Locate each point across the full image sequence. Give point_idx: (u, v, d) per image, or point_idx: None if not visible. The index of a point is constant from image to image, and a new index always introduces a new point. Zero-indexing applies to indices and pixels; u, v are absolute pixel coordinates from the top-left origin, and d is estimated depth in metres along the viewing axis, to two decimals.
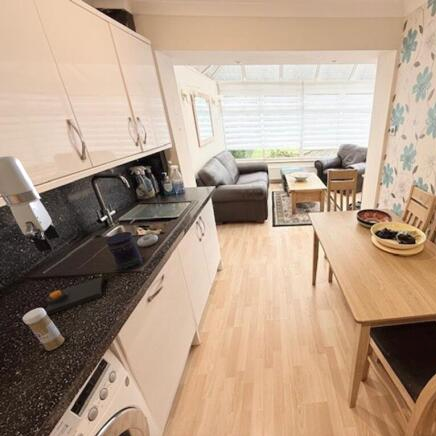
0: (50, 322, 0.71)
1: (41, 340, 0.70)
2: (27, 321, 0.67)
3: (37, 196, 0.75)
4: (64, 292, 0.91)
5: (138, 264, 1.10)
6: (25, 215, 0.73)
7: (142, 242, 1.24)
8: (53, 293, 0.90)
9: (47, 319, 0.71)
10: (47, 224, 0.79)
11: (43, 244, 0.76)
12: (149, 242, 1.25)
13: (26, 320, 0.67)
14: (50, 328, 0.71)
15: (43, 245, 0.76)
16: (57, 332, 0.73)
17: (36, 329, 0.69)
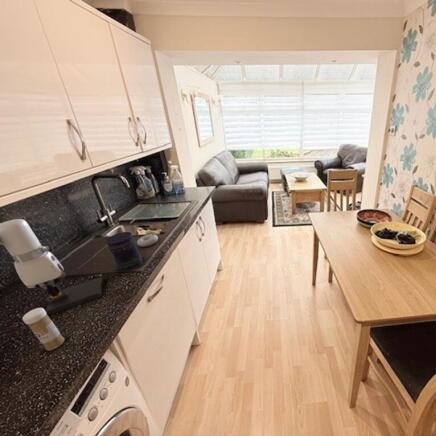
0: (50, 322, 0.71)
1: (41, 340, 0.70)
2: (27, 321, 0.67)
3: (23, 260, 0.79)
4: (64, 292, 0.91)
5: (138, 264, 1.10)
6: None
7: (142, 242, 1.24)
8: None
9: (47, 319, 0.71)
10: (41, 280, 0.85)
11: None
12: (149, 242, 1.25)
13: (26, 320, 0.67)
14: (50, 328, 0.71)
15: None
16: (57, 332, 0.73)
17: (36, 329, 0.69)
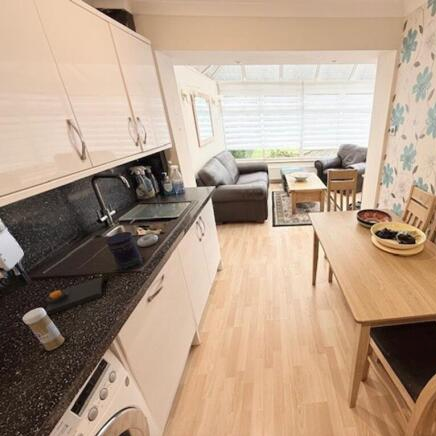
0: (50, 322, 0.71)
1: (41, 340, 0.70)
2: (27, 321, 0.67)
3: (2, 228, 0.63)
4: (64, 292, 0.91)
5: (138, 264, 1.10)
6: None
7: (142, 242, 1.24)
8: (53, 293, 0.90)
9: (47, 319, 0.71)
10: (15, 260, 0.67)
11: (18, 280, 0.68)
12: (149, 242, 1.25)
13: (26, 320, 0.67)
14: (50, 328, 0.71)
15: (18, 281, 0.68)
16: (57, 332, 0.73)
17: (36, 329, 0.69)
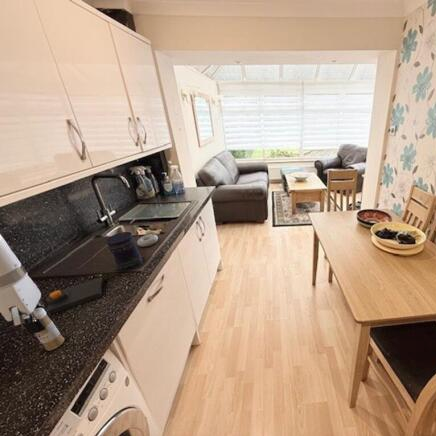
0: (50, 322, 0.71)
1: (41, 340, 0.70)
2: None
3: (23, 273, 0.64)
4: (64, 292, 0.91)
5: (138, 264, 1.10)
6: (8, 300, 0.61)
7: (142, 242, 1.24)
8: (53, 293, 0.90)
9: (47, 319, 0.71)
10: (35, 302, 0.68)
11: (35, 326, 0.67)
12: (149, 242, 1.25)
13: None
14: (50, 328, 0.71)
15: (35, 327, 0.67)
16: (57, 332, 0.73)
17: None
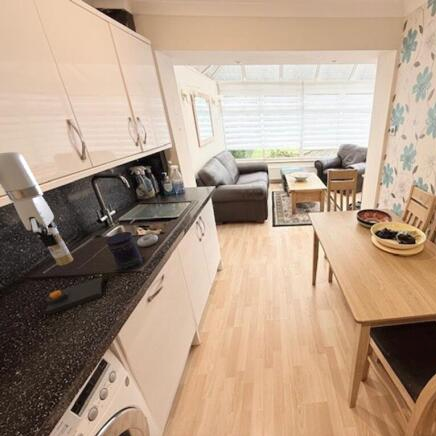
0: (61, 240, 0.84)
1: (54, 255, 0.83)
2: None
3: (40, 192, 0.77)
4: (64, 292, 0.91)
5: (138, 264, 1.10)
6: (28, 210, 0.74)
7: (142, 242, 1.24)
8: (53, 293, 0.90)
9: (59, 237, 0.83)
10: (49, 220, 0.80)
11: (49, 239, 0.80)
12: (149, 242, 1.25)
13: None
14: (61, 245, 0.84)
15: (49, 240, 0.80)
16: (67, 250, 0.86)
17: None
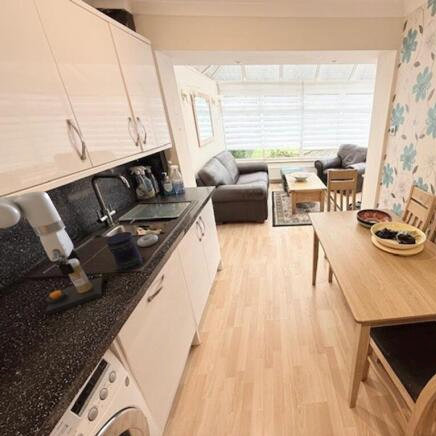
0: (82, 270, 0.92)
1: (75, 284, 0.91)
2: None
3: (62, 225, 0.84)
4: (64, 292, 0.91)
5: (138, 264, 1.10)
6: (52, 243, 0.81)
7: (142, 242, 1.24)
8: (53, 293, 0.90)
9: (80, 267, 0.91)
10: (70, 250, 0.87)
11: (67, 269, 0.84)
12: (149, 242, 1.25)
13: None
14: (82, 274, 0.91)
15: (67, 269, 0.84)
16: (87, 279, 0.93)
17: (72, 274, 0.89)
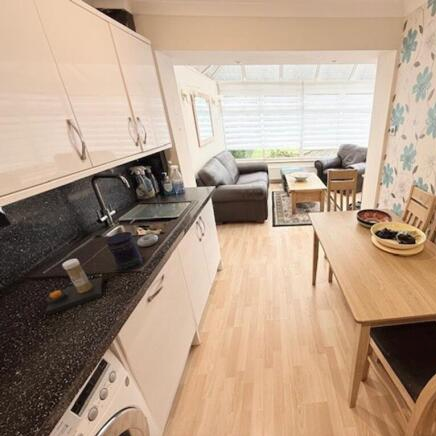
0: (82, 270, 0.92)
1: (75, 284, 0.91)
2: (66, 267, 0.87)
3: None
4: (64, 292, 0.91)
5: (138, 264, 1.10)
6: None
7: (142, 242, 1.24)
8: (53, 293, 0.90)
9: (80, 267, 0.91)
10: None
11: None
12: (149, 242, 1.25)
13: (65, 266, 0.87)
14: (82, 274, 0.91)
15: None
16: (87, 279, 0.93)
17: (72, 274, 0.89)
